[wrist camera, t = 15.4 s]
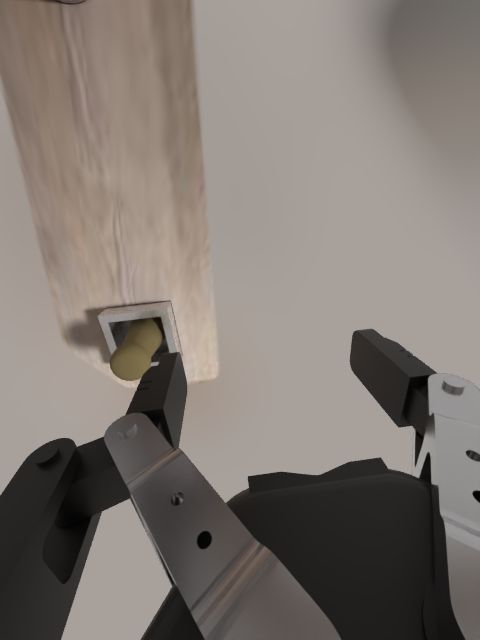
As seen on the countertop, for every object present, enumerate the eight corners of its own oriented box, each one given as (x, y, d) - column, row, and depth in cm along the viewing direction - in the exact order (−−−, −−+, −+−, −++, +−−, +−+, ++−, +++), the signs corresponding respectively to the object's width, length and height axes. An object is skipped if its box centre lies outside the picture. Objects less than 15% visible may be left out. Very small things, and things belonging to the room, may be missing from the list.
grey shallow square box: (106, 308, 41) (97, 316, 38) (170, 300, 42) (167, 308, 38) (124, 361, 45) (117, 373, 42) (182, 354, 46) (180, 365, 43)
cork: (162, 313, 42) (145, 347, 32) (168, 345, 44) (155, 385, 34) (125, 316, 42) (96, 351, 32) (133, 348, 44) (109, 390, 34)
